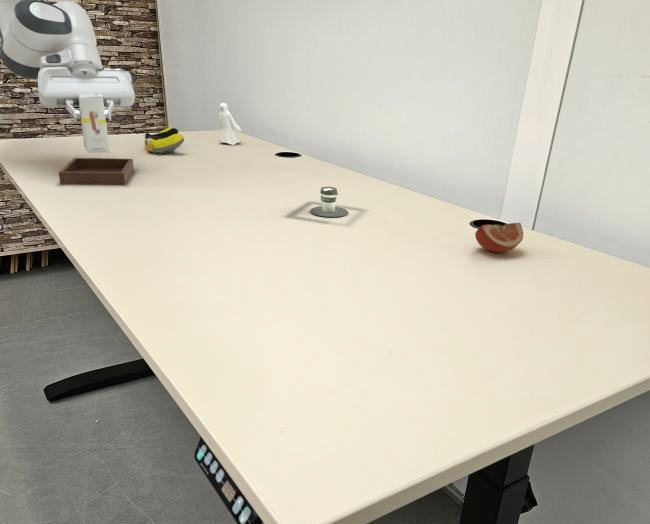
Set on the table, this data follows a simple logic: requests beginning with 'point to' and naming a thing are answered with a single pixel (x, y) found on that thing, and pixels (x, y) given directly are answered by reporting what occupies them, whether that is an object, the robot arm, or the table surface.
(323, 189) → the coffee cup
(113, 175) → the tray
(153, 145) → the yellow rounded piece
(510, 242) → the fruit slice
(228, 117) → the figurine
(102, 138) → the ink box
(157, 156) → the table surface
